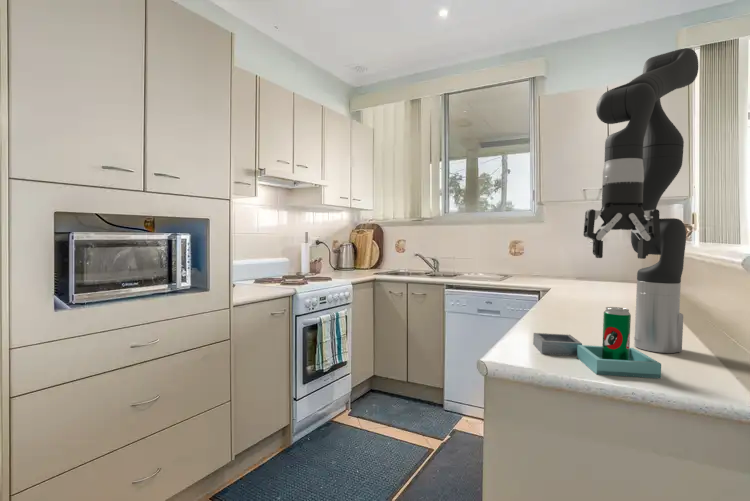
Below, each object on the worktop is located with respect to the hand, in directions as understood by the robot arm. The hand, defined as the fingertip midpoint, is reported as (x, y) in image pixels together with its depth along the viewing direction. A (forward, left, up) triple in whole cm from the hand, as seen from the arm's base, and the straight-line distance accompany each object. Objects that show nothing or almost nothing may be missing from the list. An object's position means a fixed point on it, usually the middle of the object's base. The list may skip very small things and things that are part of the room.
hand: (619, 258), depth 88 cm
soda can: (0, 0, -23) cm, 23 cm away
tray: (0, 0, -24) cm, 24 cm away
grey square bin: (+9, -12, -24) cm, 28 cm away
